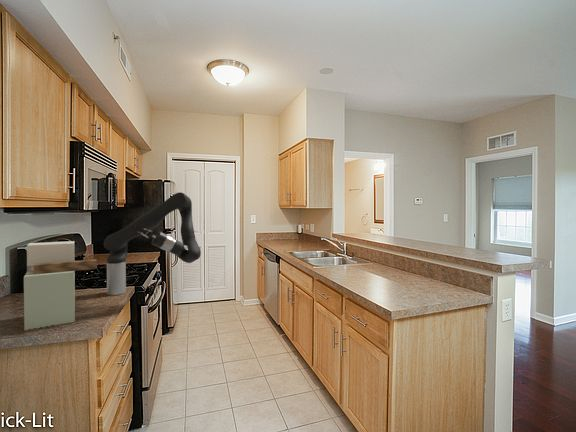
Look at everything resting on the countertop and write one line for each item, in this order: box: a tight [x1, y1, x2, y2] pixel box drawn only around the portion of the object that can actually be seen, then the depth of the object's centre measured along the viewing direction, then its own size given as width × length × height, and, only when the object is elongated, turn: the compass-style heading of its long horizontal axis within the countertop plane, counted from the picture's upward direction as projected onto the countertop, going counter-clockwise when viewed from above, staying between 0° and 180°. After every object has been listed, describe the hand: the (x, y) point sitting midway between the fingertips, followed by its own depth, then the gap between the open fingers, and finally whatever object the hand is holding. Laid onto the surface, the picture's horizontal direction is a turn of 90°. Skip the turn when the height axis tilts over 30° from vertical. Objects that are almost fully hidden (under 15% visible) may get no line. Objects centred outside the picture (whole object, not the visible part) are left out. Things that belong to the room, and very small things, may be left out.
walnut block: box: [26, 259, 98, 275], centre depth 128 cm, size 24×4×4 cm, turn 125°
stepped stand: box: [23, 240, 76, 331], centre depth 130 cm, size 20×16×32 cm
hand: (133, 226), depth 146 cm, fingers open, 8 cm apart
